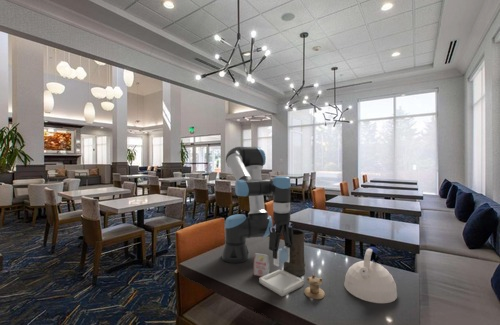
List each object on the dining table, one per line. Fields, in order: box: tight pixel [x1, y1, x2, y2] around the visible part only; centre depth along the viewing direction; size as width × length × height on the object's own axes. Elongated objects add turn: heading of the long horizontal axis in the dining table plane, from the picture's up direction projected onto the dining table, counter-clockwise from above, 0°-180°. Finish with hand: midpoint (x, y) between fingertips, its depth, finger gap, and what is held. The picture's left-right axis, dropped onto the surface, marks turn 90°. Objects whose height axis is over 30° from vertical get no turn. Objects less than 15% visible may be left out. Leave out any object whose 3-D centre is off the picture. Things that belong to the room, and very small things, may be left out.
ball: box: [278, 248, 289, 264], centre depth 108 cm, size 6×6×6 cm
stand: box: [304, 274, 326, 300], centre depth 101 cm, size 8×8×7 cm
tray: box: [258, 268, 305, 297], centre depth 109 cm, size 14×14×2 cm
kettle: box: [343, 246, 398, 304], centre depth 104 cm, size 20×21×18 cm
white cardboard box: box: [253, 252, 271, 277], centre depth 117 cm, size 4×7×10 cm, turn 65°
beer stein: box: [282, 228, 306, 277], centre depth 123 cm, size 15×11×20 cm
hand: (281, 263), depth 108 cm, fingers closed on ball, 6 cm apart
